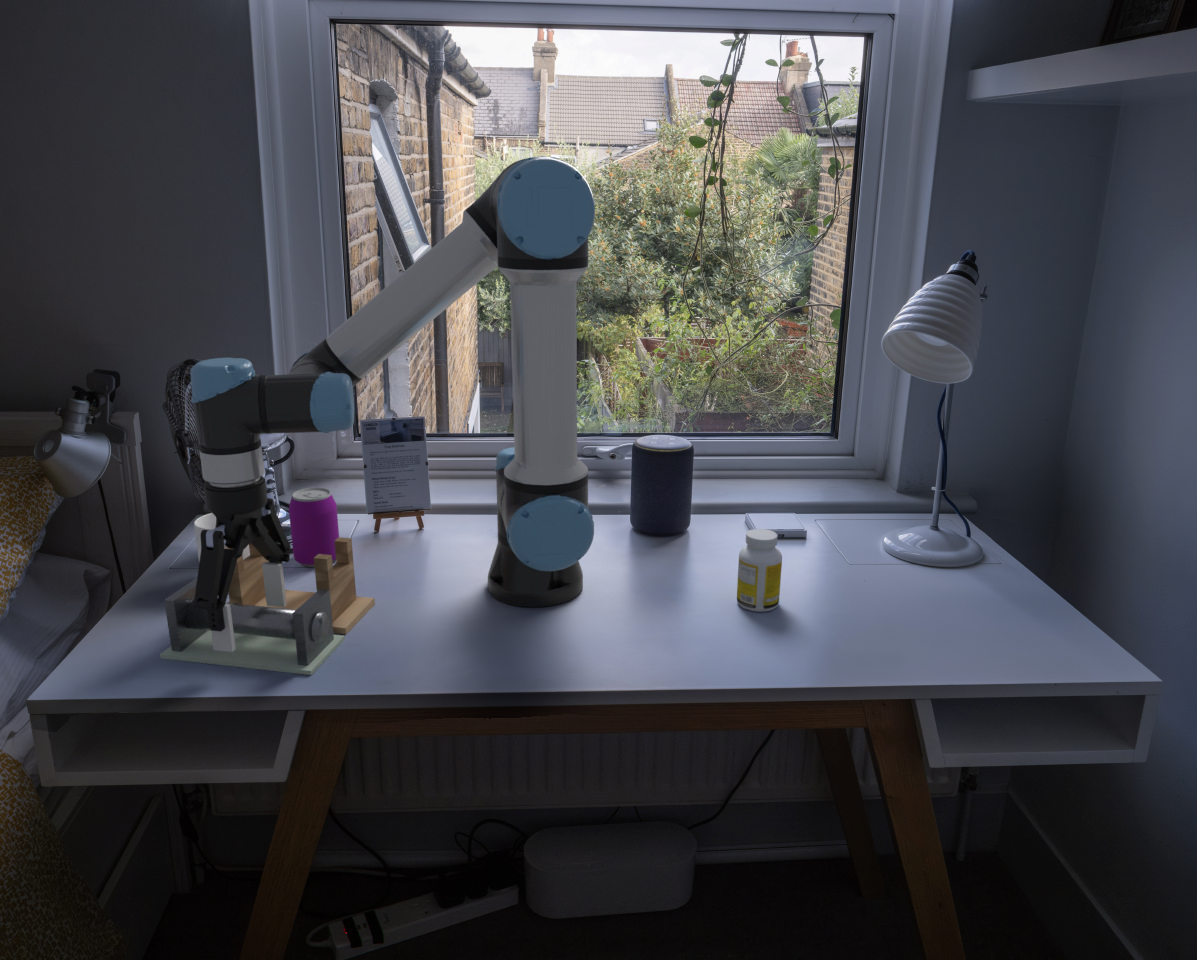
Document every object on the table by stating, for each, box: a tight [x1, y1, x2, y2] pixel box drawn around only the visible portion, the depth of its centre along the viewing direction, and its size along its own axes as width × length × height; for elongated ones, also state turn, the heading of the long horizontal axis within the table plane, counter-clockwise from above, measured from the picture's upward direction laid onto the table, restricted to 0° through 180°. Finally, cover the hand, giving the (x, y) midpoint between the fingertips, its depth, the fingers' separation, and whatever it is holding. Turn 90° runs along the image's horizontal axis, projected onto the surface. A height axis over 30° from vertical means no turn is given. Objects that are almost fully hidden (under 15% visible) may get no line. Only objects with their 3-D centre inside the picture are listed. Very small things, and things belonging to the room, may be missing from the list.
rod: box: [163, 577, 335, 666], centre depth 127 cm, size 21×8×8 cm, turn 79°
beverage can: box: [288, 487, 340, 568], centre depth 156 cm, size 8×8×12 cm
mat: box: [159, 631, 346, 676], centre depth 128 cm, size 22×10×1 cm, turn 79°
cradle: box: [225, 536, 376, 635], centre depth 137 cm, size 21×10×11 cm, turn 79°
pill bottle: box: [736, 528, 783, 613], centre depth 141 cm, size 6×6×12 cm
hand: (252, 626), depth 127 cm, fingers open, 13 cm apart
